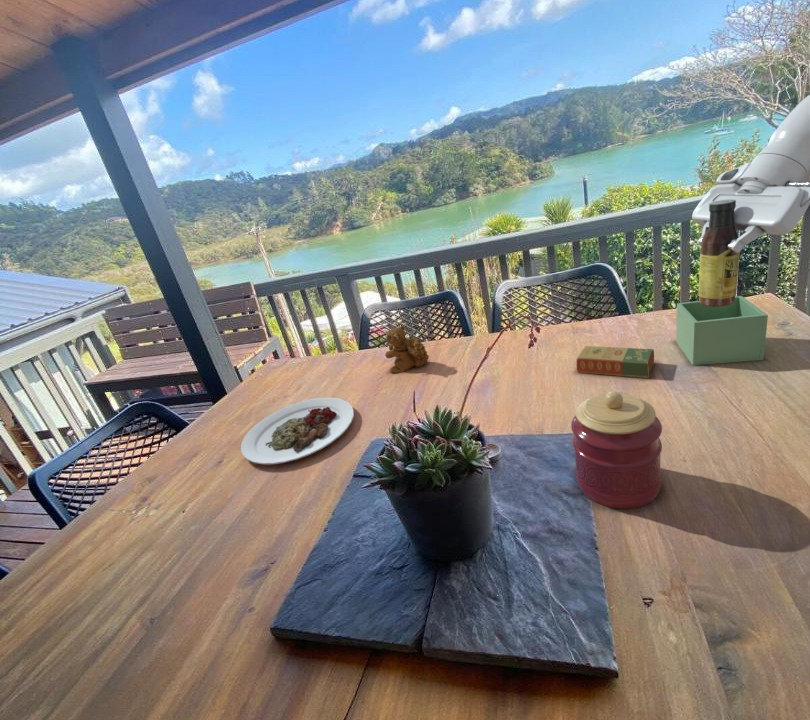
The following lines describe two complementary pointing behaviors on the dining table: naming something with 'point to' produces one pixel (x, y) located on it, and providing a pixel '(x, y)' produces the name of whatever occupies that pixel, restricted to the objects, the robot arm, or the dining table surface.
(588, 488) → the kitchen canister
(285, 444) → the plated food
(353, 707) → the dining table surface
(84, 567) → the dining table surface
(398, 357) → the stuffed squirrel
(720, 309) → the bin
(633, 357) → the carton
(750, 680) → the dining table surface
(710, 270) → the sauce bottle
